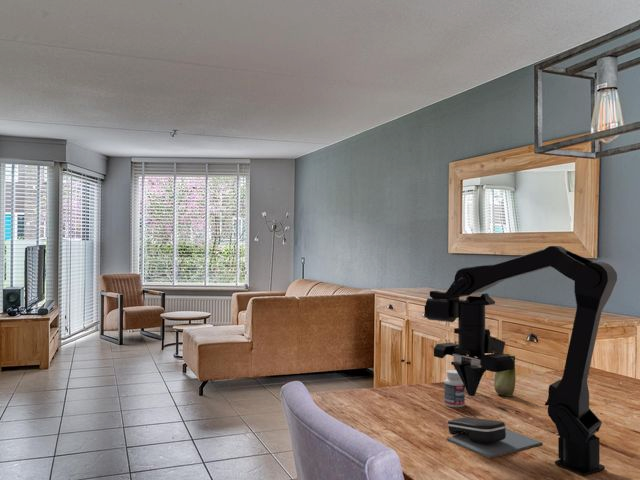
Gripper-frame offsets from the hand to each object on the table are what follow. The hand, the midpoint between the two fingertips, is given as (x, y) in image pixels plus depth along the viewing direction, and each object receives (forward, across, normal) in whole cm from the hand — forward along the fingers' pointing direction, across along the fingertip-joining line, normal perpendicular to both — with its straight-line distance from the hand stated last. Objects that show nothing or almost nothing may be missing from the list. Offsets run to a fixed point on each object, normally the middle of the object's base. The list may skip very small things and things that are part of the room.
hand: (471, 395), depth 119 cm
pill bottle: (+10, +21, -15) cm, 28 cm away
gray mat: (+10, -4, -3) cm, 11 cm away
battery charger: (+8, +5, 0) cm, 10 cm away
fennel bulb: (+10, +21, -34) cm, 41 cm away
